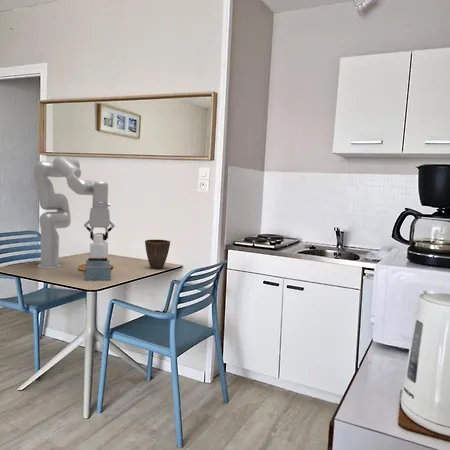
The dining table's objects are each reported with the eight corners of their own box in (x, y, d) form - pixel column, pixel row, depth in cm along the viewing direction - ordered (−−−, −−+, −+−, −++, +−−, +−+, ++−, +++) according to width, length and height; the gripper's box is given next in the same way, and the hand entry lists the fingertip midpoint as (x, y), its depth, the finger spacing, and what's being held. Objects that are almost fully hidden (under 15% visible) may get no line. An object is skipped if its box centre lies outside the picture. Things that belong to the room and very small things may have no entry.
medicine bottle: (94, 254, 226) (94, 232, 225) (108, 255, 226) (107, 232, 225) (90, 257, 219) (89, 234, 218) (103, 257, 219) (103, 234, 218)
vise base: (86, 270, 235) (86, 258, 235) (108, 270, 239) (108, 258, 238) (85, 280, 211) (85, 267, 211) (110, 280, 215) (110, 267, 214)
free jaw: (86, 268, 232) (86, 257, 232) (108, 268, 236) (109, 257, 235) (86, 269, 229) (86, 258, 228) (109, 269, 233) (109, 258, 232)
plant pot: (157, 271, 244) (158, 243, 242) (138, 267, 252) (139, 240, 250) (174, 267, 256) (175, 241, 255) (155, 264, 264) (156, 238, 263)
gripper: (116, 205, 227) (115, 239, 228) (82, 204, 221) (81, 238, 223) (117, 206, 220) (116, 241, 221) (82, 205, 214) (81, 240, 216)
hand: (99, 239), depth 222 cm, fingers closed on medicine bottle, 6 cm apart
